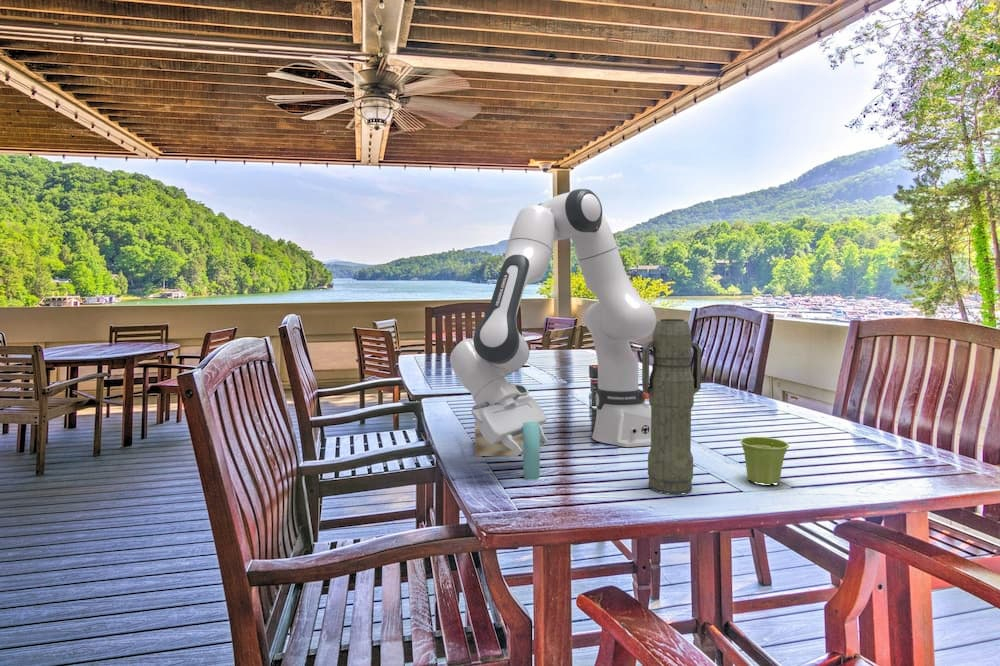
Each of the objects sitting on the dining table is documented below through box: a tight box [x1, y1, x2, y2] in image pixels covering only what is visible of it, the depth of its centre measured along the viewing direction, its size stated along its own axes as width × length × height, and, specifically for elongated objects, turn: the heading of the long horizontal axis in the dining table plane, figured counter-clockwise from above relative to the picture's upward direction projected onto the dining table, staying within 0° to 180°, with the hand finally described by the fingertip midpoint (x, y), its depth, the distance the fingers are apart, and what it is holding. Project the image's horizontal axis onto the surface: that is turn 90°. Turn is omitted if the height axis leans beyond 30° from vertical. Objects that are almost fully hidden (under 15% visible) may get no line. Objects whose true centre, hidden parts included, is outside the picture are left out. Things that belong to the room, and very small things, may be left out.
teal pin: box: [522, 422, 541, 480], centre depth 124 cm, size 4×4×12 cm
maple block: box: [474, 421, 523, 458], centre depth 148 cm, size 14×14×6 cm
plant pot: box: [739, 436, 790, 484], centre depth 120 cm, size 9×9×9 cm
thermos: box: [641, 318, 702, 495], centre depth 116 cm, size 9×12×35 cm
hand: (533, 448), depth 124 cm, fingers open, 8 cm apart
